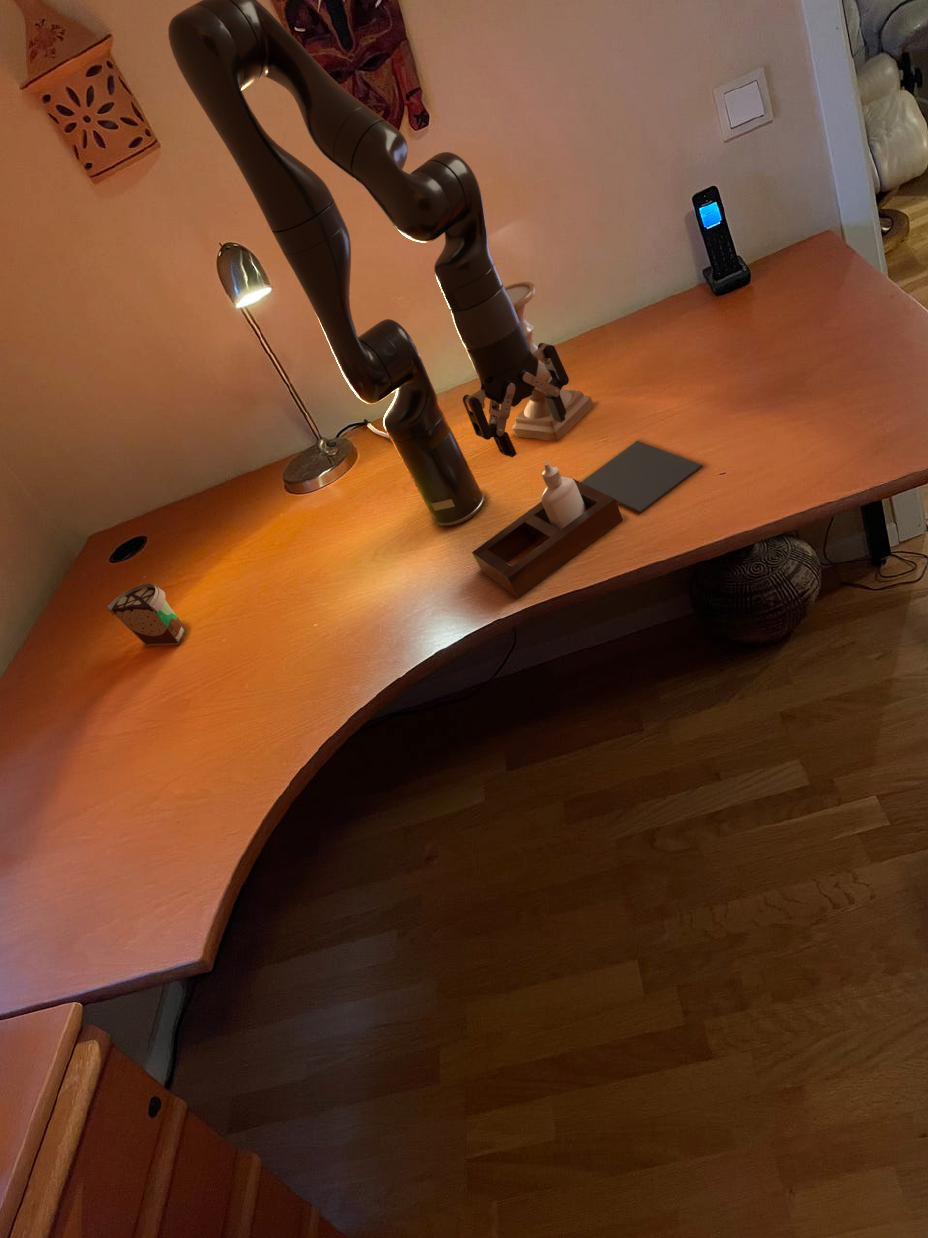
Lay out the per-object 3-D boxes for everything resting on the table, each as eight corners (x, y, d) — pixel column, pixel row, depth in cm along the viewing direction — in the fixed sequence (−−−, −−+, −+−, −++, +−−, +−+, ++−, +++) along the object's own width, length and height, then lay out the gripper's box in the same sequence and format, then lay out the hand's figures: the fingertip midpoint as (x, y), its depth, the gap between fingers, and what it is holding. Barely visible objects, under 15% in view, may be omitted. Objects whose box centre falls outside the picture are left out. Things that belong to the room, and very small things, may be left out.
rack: (482, 572, 125) (471, 552, 122) (580, 498, 128) (572, 478, 126) (518, 599, 117) (508, 578, 114) (623, 520, 120) (615, 498, 117)
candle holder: (550, 401, 156) (503, 281, 141) (595, 404, 148) (549, 277, 134) (514, 436, 152) (461, 316, 137) (558, 441, 144) (507, 314, 130)
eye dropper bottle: (595, 528, 121) (569, 461, 114) (560, 545, 122) (532, 479, 114) (587, 514, 124) (560, 448, 117) (553, 530, 125) (524, 465, 118)
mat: (580, 484, 131) (579, 482, 131) (637, 442, 133) (637, 440, 133) (640, 513, 119) (639, 511, 119) (702, 466, 121) (702, 464, 121)
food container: (204, 619, 150) (171, 578, 144) (186, 644, 146) (150, 603, 140) (160, 621, 156) (126, 583, 150) (140, 645, 152) (105, 606, 146)
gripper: (519, 296, 108) (560, 403, 117) (431, 355, 106) (481, 460, 115) (550, 302, 102) (591, 414, 111) (458, 365, 100) (508, 474, 109)
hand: (535, 437), depth 113 cm, fingers open, 8 cm apart
